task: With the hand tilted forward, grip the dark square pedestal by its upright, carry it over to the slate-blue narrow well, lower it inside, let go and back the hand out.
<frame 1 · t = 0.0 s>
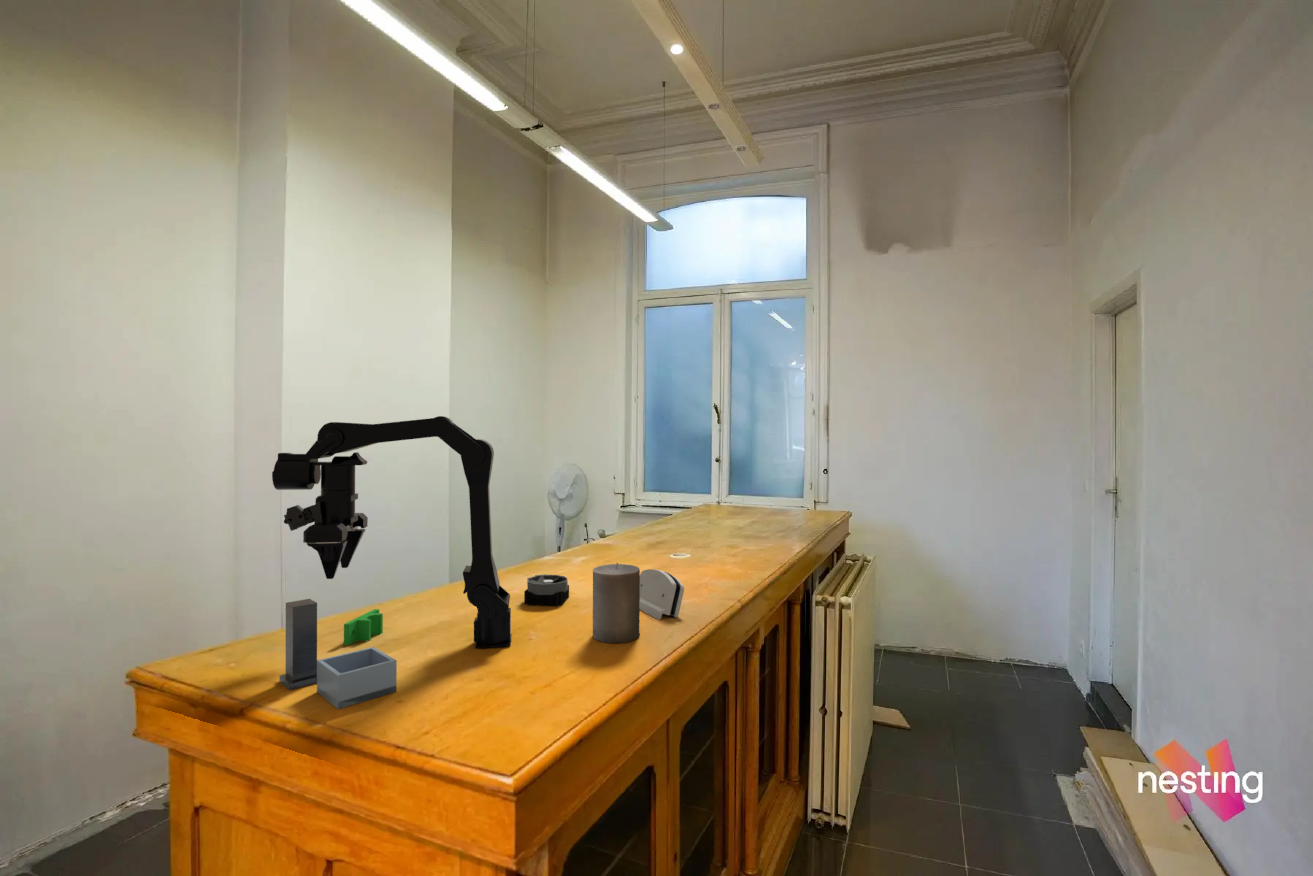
hand: (337, 573, 117), 15 cm above the worktop, fingers open, 9 cm apart
well: (356, 691, 100), on the worktop
napkin holder: (656, 610, 148), on the worktop
pillar candle: (615, 636, 128), on the worktop
dark square pedestal: (301, 681, 103), on the worktop
cpu cooler: (547, 602, 154), on the worktop
pipe clamp: (367, 638, 126), on the worktop
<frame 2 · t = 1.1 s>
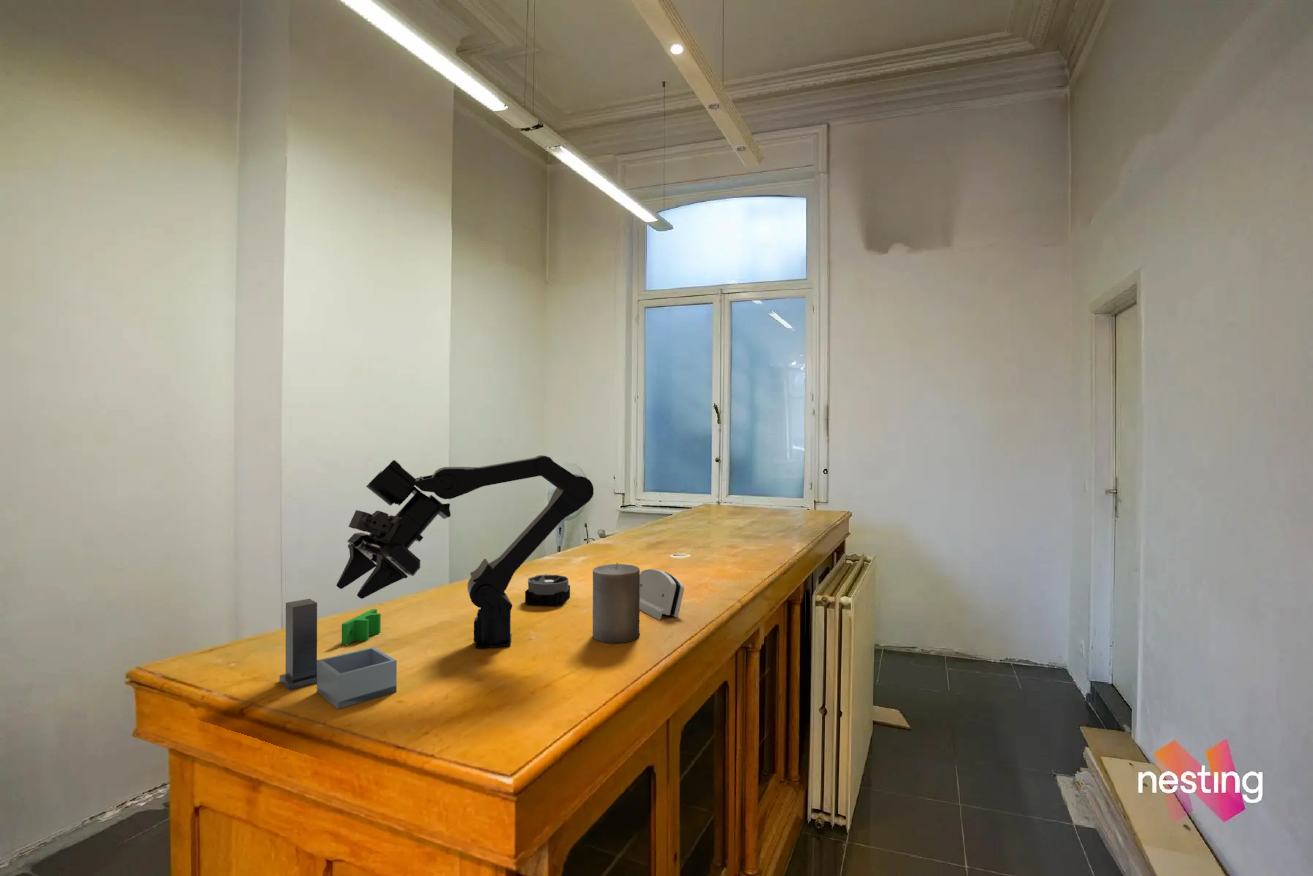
hand: (348, 592, 109), 13 cm above the worktop, fingers open, 9 cm apart
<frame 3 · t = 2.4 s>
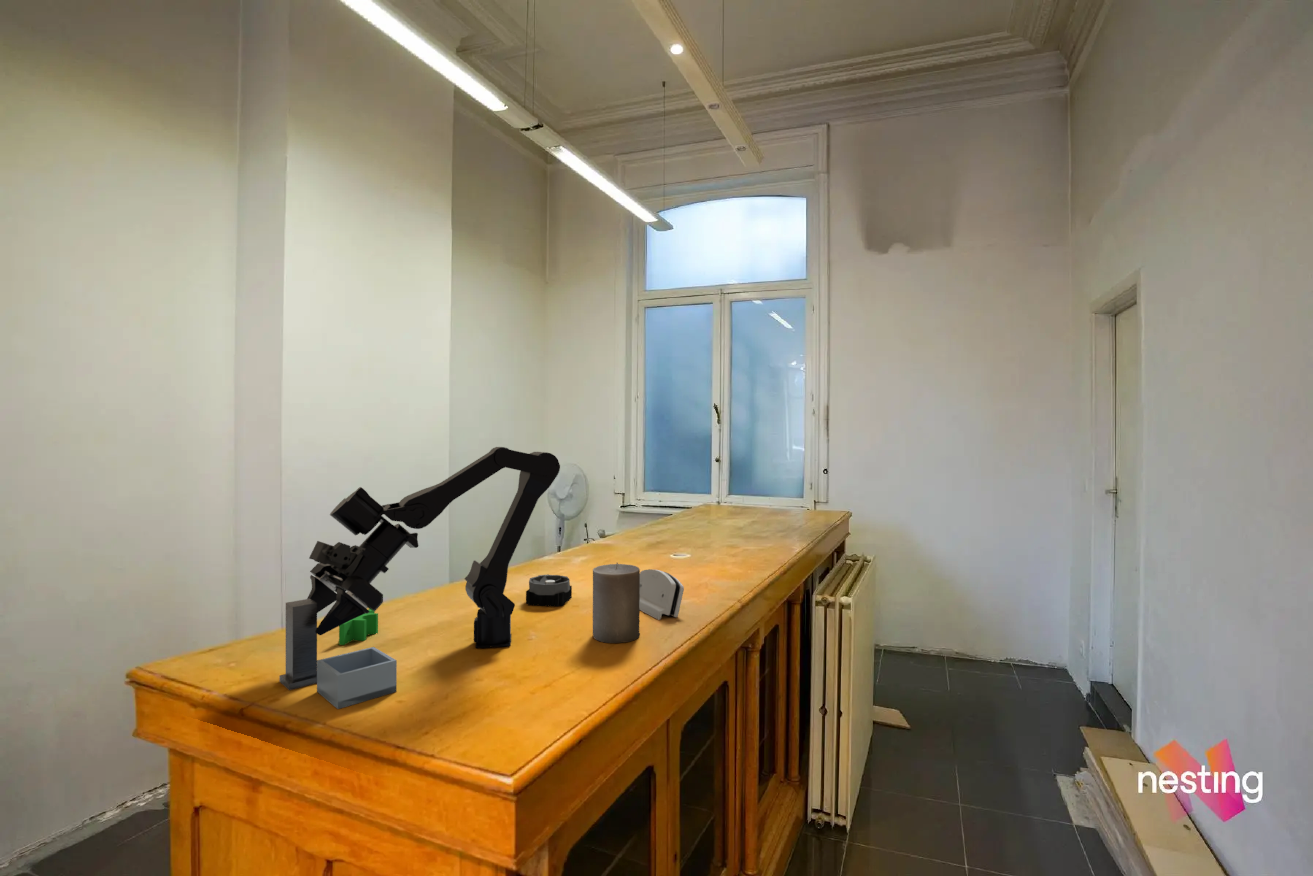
hand: (307, 627, 104), 9 cm above the worktop, fingers open, 9 cm apart
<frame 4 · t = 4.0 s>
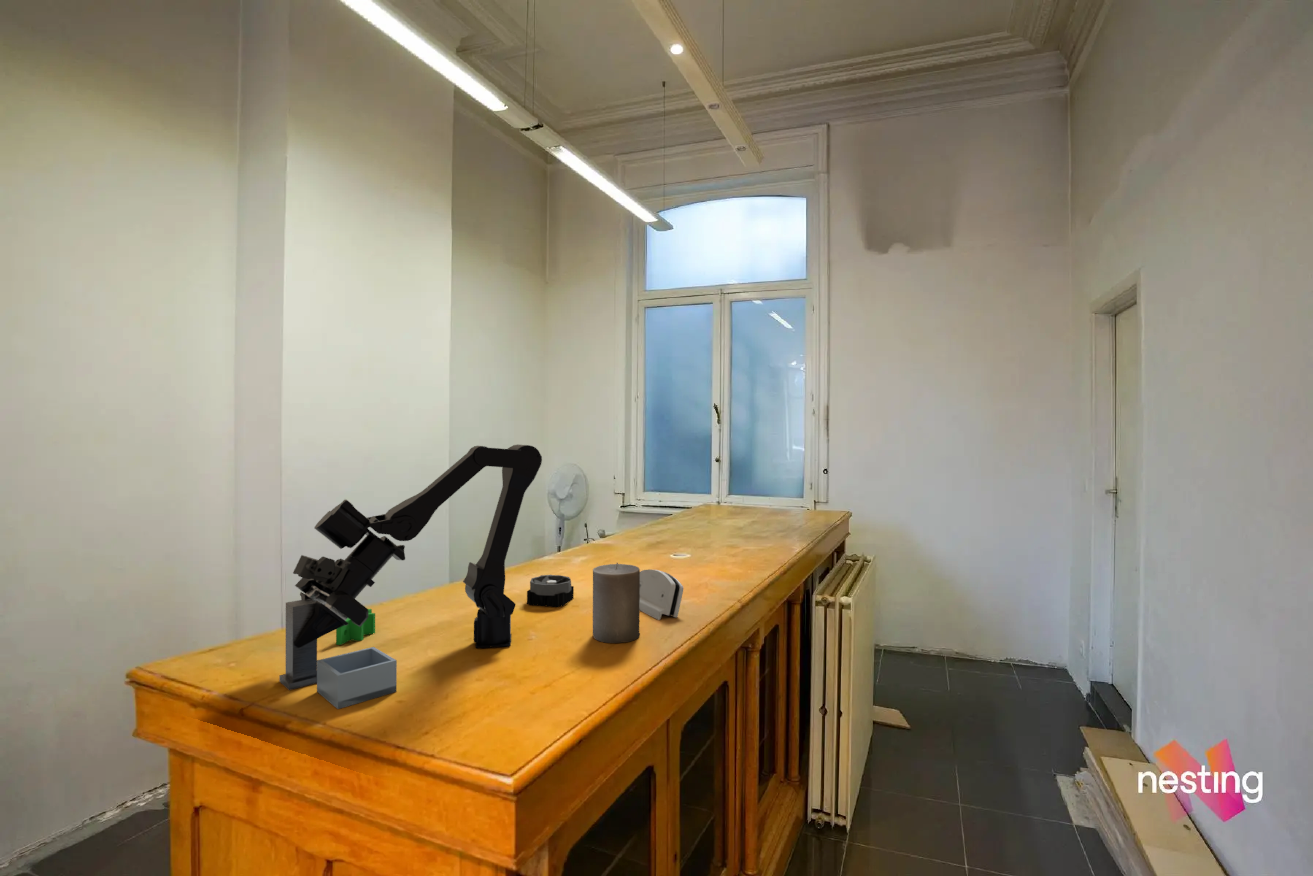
hand: (291, 643, 102), 7 cm above the worktop, fingers closed on dark square pedestal, 4 cm apart
dark square pedestal: (301, 681, 103), on the worktop, touching gripper
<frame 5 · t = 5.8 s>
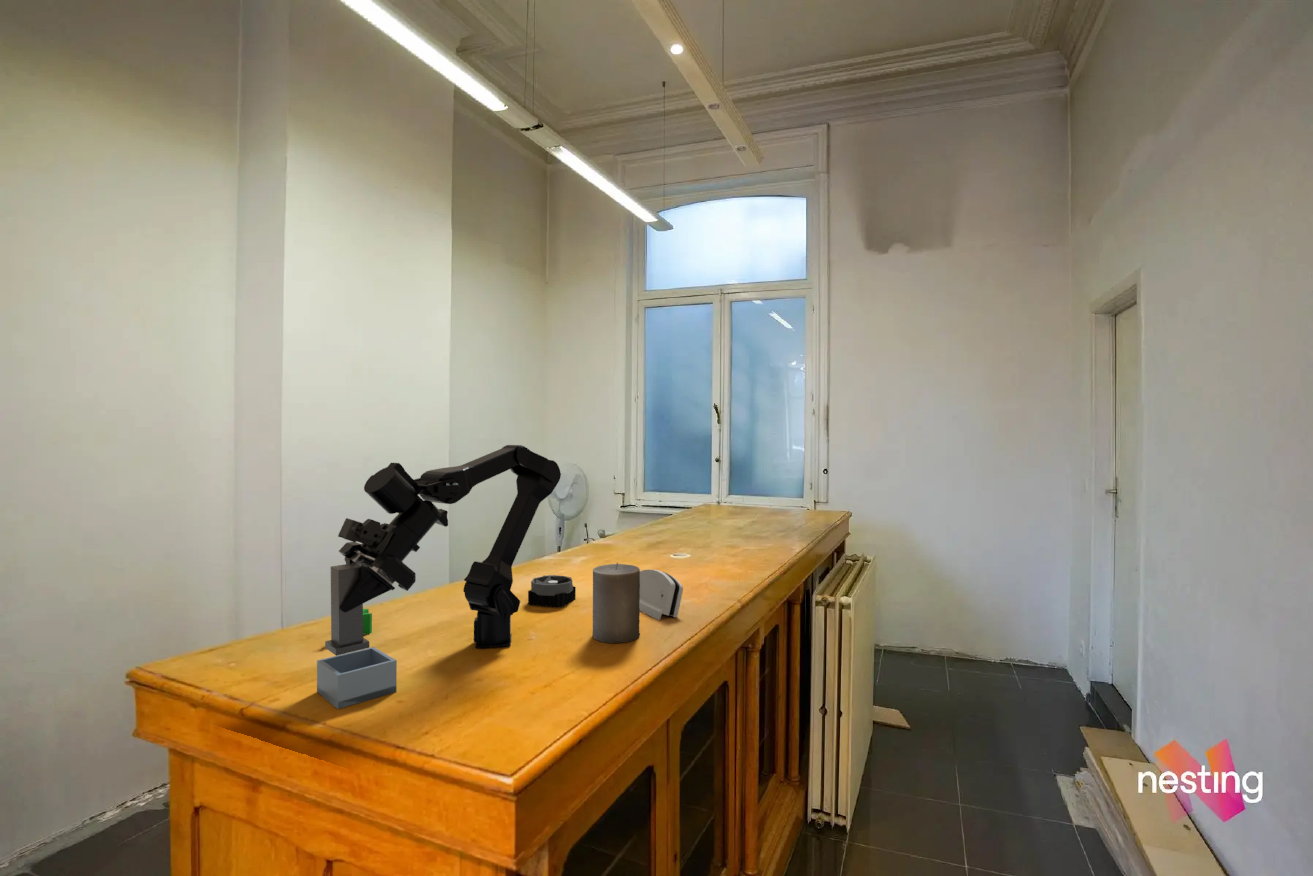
hand: (337, 608, 99), 13 cm above the worktop, fingers closed on dark square pedestal, 4 cm apart
dark square pedestal: (347, 647, 100), point 7 cm above the worktop, touching gripper
when the fingers open (9 cm above the worktop, at t = 7.7 s): dark square pedestal drops 1 cm, resting on well.
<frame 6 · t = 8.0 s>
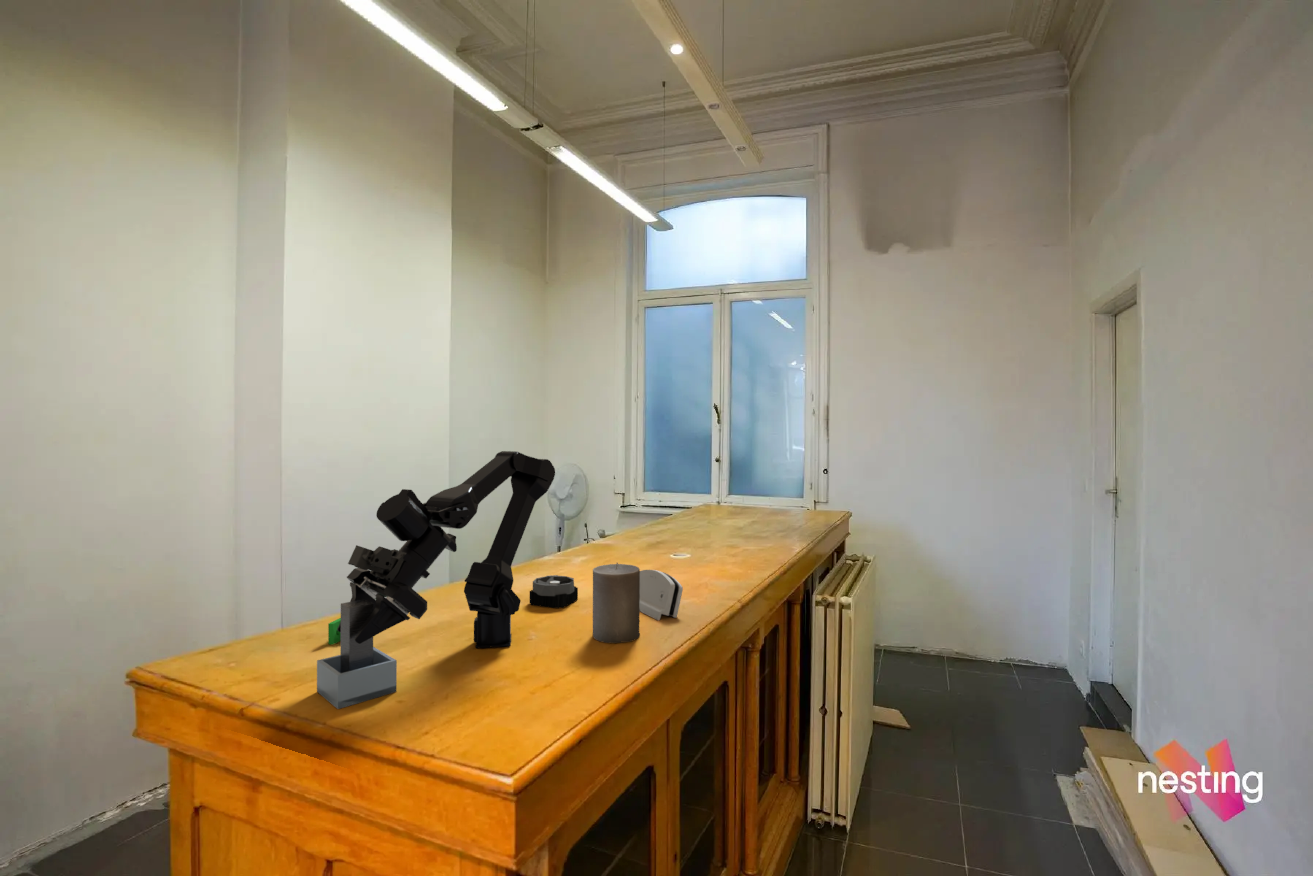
hand: (347, 636, 98), 9 cm above the worktop, fingers open, 7 cm apart
dark square pedestal: (356, 685, 100), point 1 cm above the worktop, touching well
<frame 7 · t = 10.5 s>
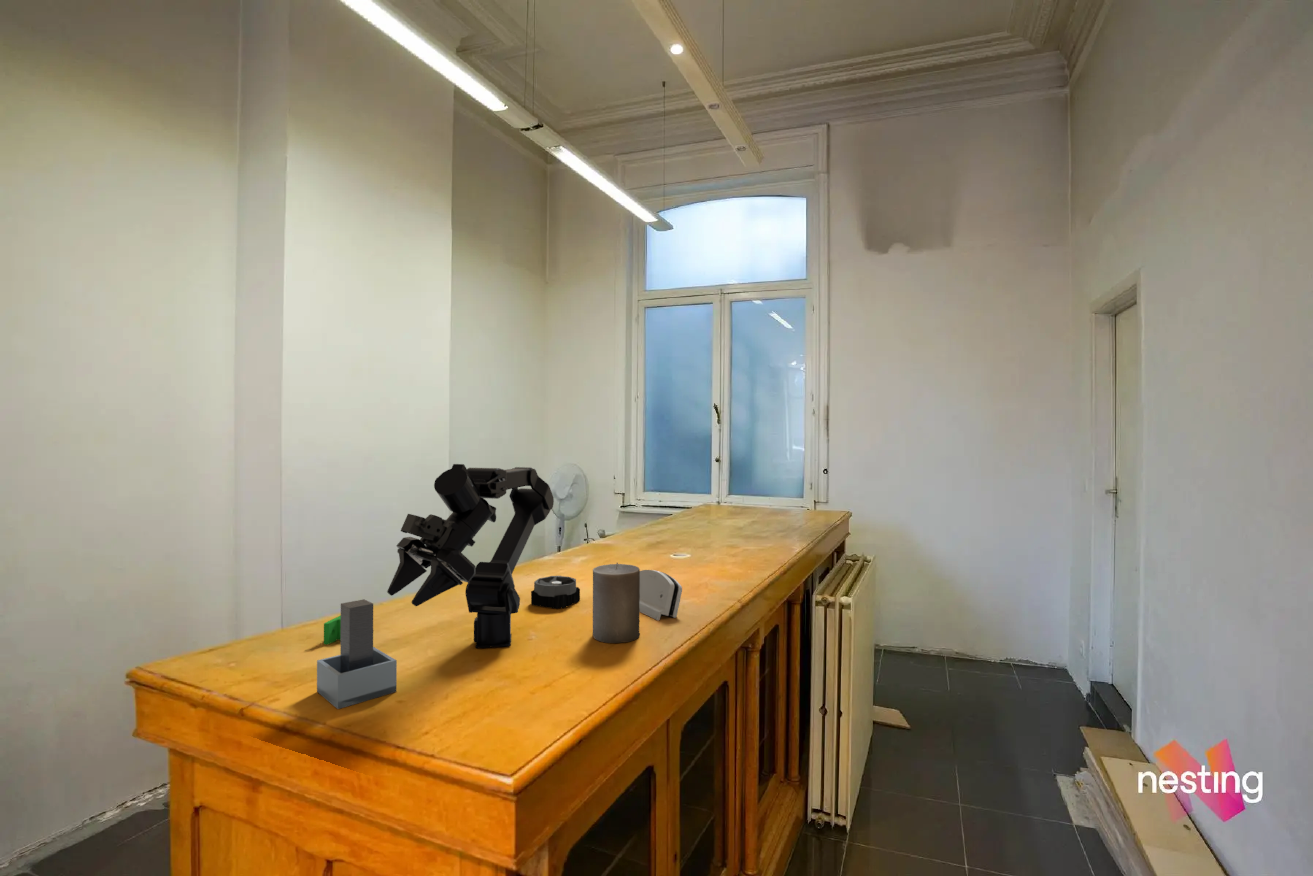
hand: (401, 599, 105), 13 cm above the worktop, fingers open, 9 cm apart
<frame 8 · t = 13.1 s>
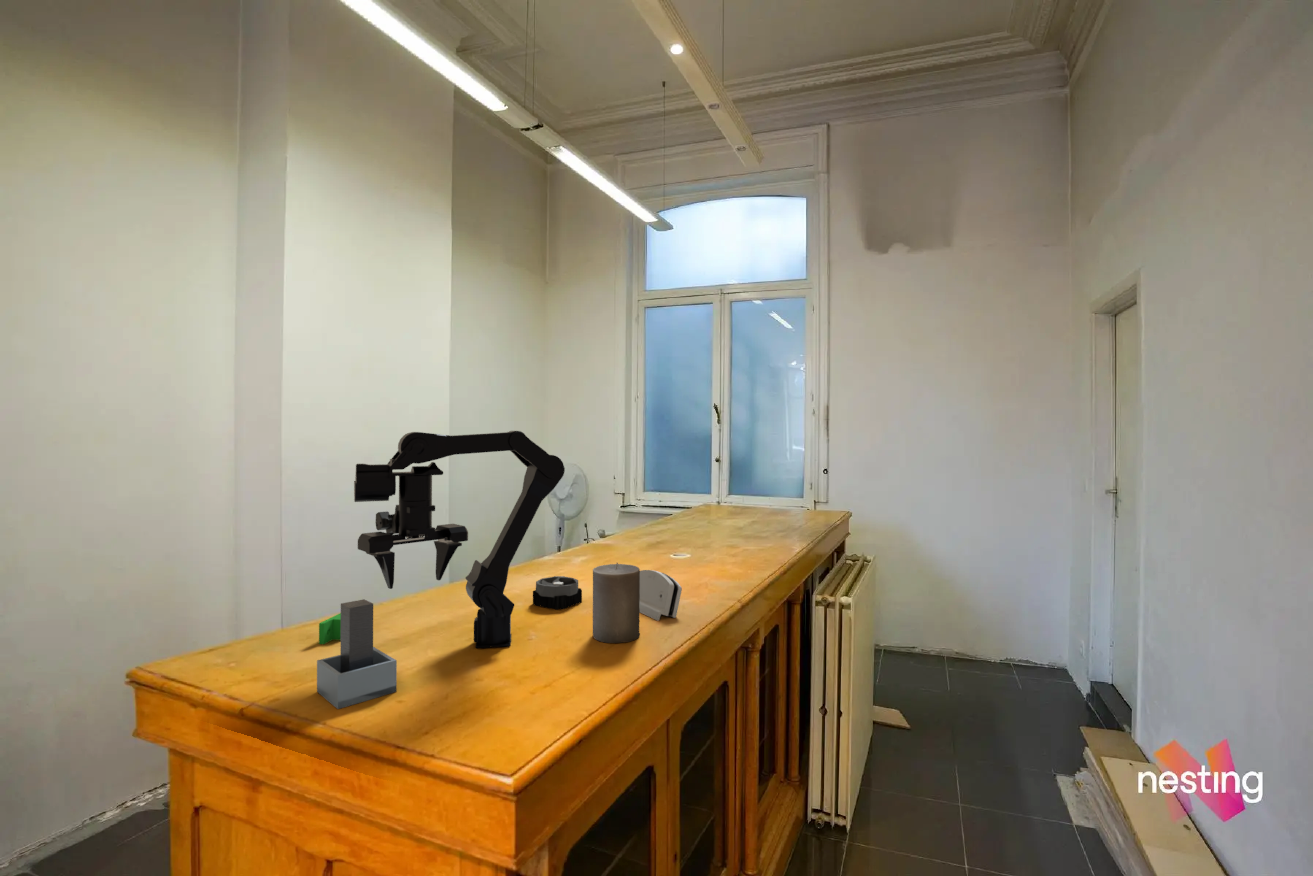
hand: (415, 584, 116), 13 cm above the worktop, fingers open, 9 cm apart
at the end: dark square pedestal 0.0 cm off-centre on the well, point 1.0 cm above the well's base; dark square pedestal tilted 0°; the gripper is holding nothing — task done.
